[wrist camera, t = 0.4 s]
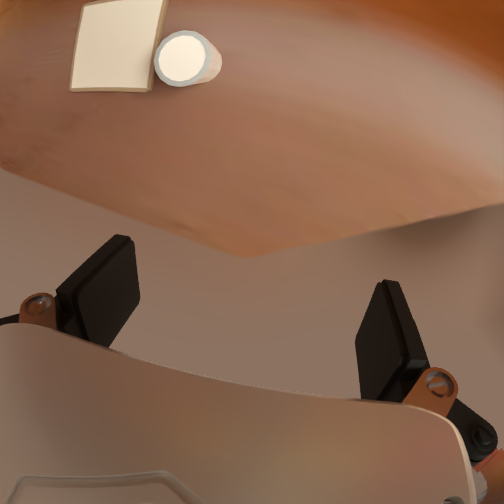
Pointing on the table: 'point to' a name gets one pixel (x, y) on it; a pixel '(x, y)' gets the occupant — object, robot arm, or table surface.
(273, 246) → the table surface
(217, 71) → the short white cylinder
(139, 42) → the plate
